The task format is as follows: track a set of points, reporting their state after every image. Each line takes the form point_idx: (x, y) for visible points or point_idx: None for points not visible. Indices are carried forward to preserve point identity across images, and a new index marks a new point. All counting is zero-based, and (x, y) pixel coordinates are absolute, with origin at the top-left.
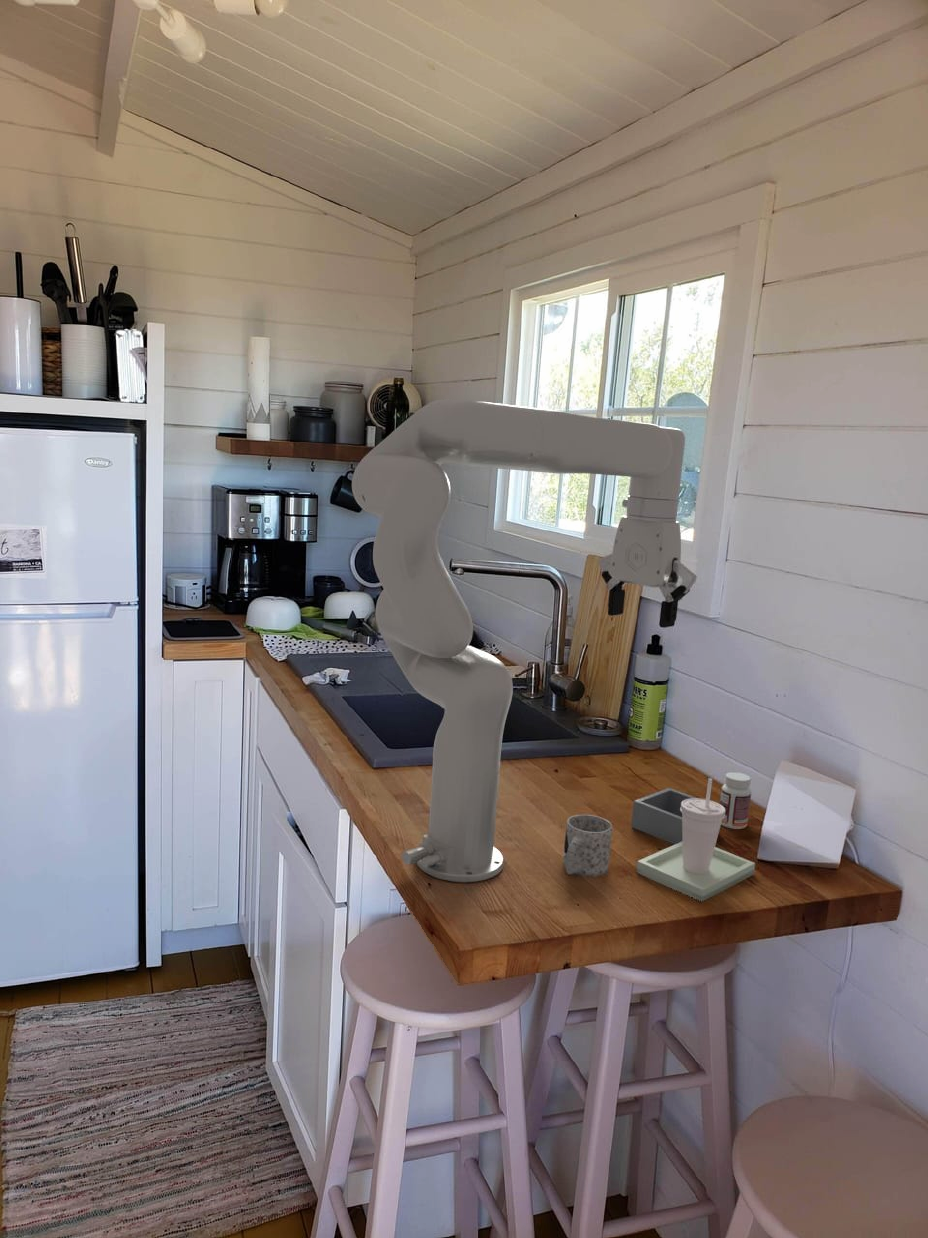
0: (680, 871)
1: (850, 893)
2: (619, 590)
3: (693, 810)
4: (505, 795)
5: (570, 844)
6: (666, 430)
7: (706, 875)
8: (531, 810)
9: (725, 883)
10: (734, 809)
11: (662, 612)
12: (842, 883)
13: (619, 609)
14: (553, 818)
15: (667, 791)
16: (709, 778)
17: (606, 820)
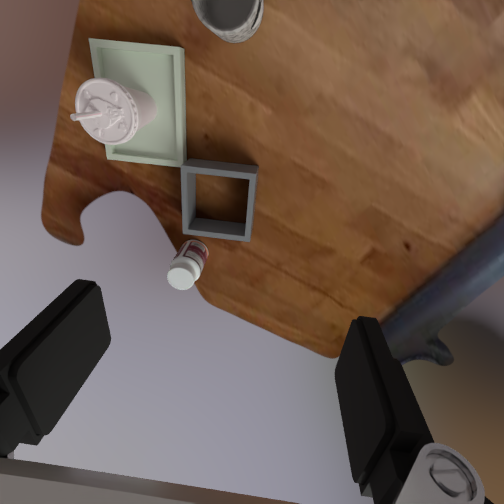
0: (147, 84)
1: (47, 188)
2: (375, 467)
3: (102, 87)
4: (430, 127)
5: None
6: None
7: None
8: (376, 111)
9: None
10: (182, 249)
11: (40, 321)
12: (64, 203)
13: (344, 371)
14: (341, 112)
15: (245, 231)
16: (76, 118)
17: (216, 30)
